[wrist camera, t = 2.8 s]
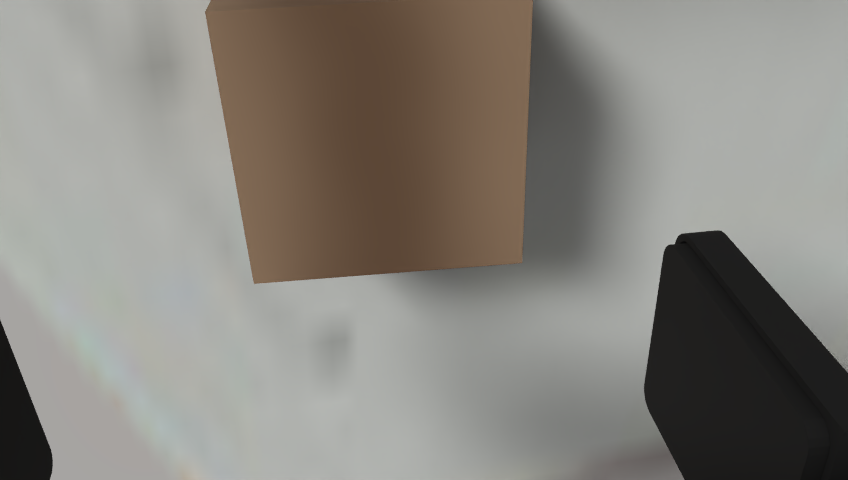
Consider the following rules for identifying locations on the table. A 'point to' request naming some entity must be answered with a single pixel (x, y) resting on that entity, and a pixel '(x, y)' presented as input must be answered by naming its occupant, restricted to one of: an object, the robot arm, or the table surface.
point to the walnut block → (375, 132)
